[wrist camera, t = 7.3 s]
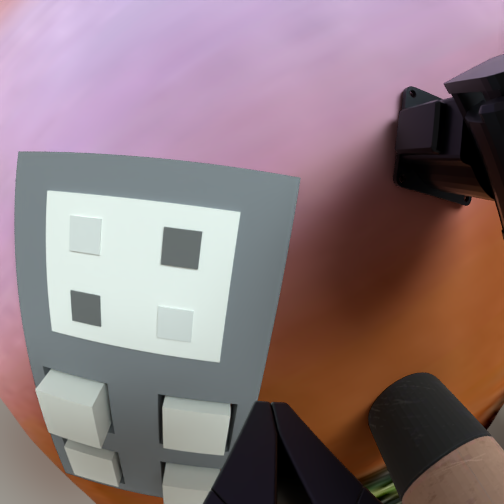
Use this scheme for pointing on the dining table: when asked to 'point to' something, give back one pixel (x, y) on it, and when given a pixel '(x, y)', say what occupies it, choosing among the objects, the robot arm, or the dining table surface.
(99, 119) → the dining table surface
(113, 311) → the button board
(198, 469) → the button
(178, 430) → the button
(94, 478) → the button
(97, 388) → the button
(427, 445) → the travel mug
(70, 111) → the dining table surface
